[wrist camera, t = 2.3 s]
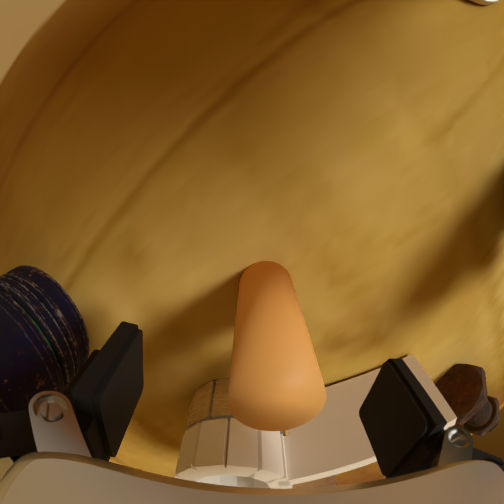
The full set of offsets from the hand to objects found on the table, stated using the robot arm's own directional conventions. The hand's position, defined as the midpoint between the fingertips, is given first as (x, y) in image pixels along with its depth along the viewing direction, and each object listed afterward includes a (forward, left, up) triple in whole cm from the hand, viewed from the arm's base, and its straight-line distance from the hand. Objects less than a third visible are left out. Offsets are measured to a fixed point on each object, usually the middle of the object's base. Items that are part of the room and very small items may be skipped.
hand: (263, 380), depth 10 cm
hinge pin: (-1, 0, -7) cm, 7 cm away
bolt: (-9, +24, -8) cm, 27 cm away
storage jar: (+15, -8, -7) cm, 19 cm away
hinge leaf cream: (+2, +8, -7) cm, 11 cm away
